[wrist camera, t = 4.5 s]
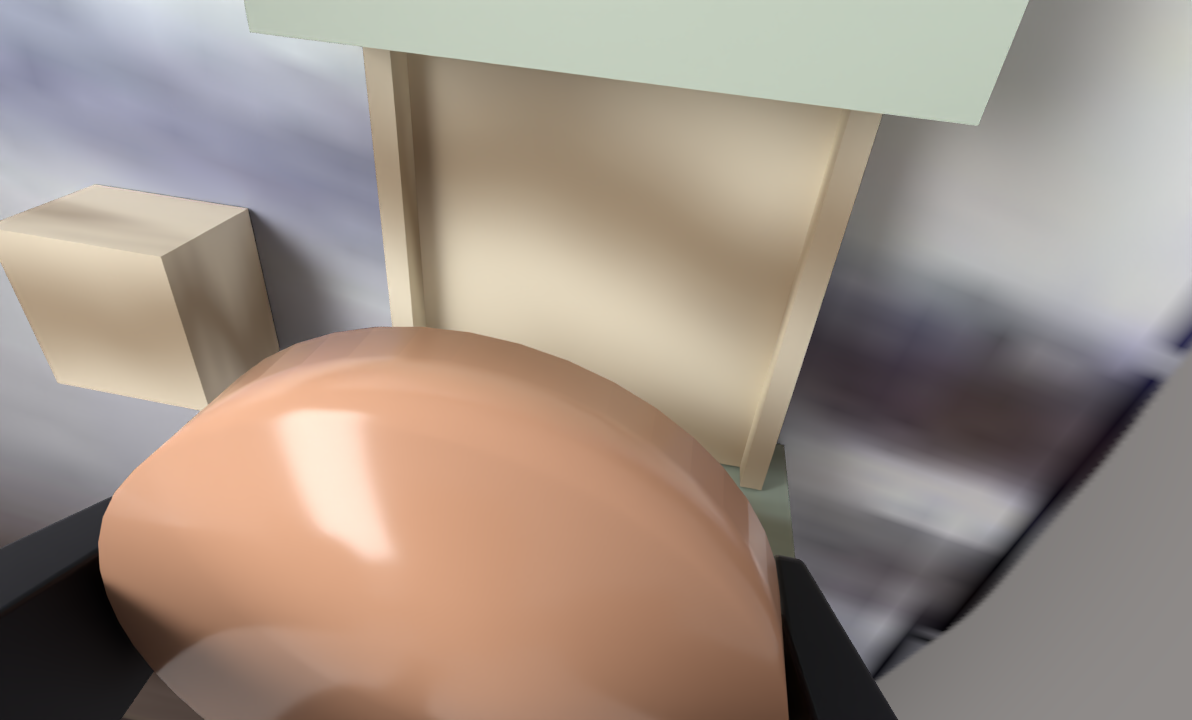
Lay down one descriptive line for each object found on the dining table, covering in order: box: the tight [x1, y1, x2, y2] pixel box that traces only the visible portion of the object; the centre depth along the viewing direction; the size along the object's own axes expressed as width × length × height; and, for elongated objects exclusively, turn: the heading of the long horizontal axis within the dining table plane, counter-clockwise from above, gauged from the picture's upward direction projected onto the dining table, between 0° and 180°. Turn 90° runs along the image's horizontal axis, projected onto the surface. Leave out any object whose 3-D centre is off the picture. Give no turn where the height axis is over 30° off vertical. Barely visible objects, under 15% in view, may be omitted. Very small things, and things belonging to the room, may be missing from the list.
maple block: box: [0, 184, 280, 411], centre depth 19 cm, size 5×5×4 cm
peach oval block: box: [98, 327, 789, 720], centre depth 8 cm, size 8×8×2 cm
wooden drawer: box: [363, 47, 883, 558], centre depth 15 cm, size 16×12×5 cm
